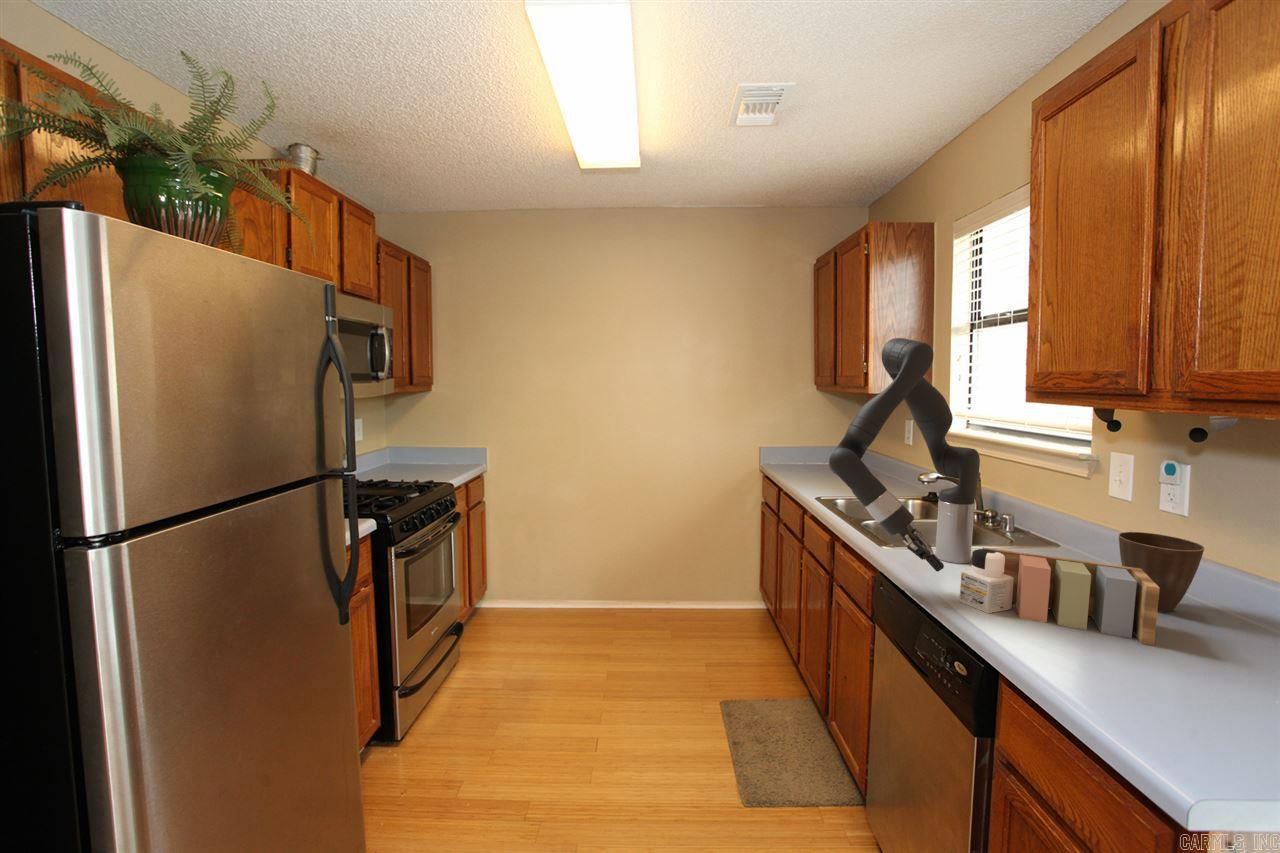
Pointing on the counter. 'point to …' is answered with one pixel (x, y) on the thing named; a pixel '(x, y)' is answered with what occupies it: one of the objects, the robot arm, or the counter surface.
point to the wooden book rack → (1144, 591)
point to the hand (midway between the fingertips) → (940, 568)
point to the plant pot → (1162, 563)
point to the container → (987, 582)
